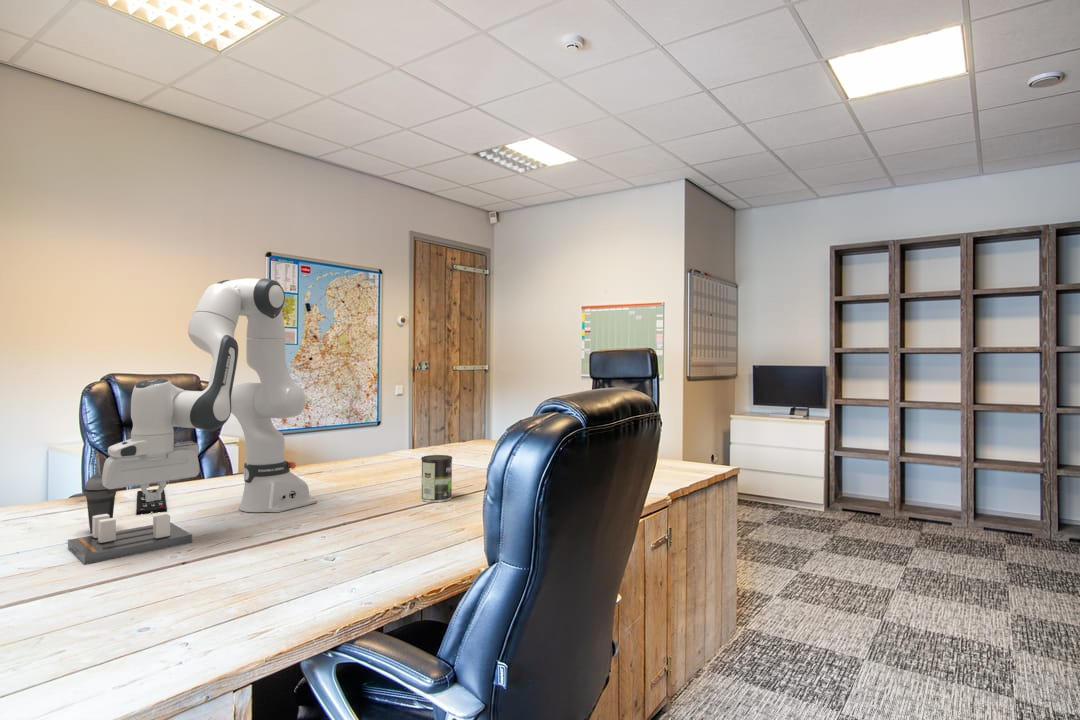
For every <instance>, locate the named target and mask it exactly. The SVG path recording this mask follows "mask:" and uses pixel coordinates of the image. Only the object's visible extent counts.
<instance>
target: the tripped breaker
mask: <svg viewBox="0 0 1080 720" xmlns="http://www.w3.org/2000/svg"><path fill="white" fill-rule="evenodd" d="M152 517H153V518H152V519H153V521H152V525H153V537H155V538H161V537H166V536H170V522H171V515H170V514H169V513H164V514H159V515H154V516H152Z"/></svg>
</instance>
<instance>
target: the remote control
mask: <svg viewBox="0 0 1080 720" xmlns="http://www.w3.org/2000/svg"><path fill="white" fill-rule="evenodd" d="M157 489H158V488H155V489H147V490H148V492H149V493H154V492H156V491H157ZM165 492H166V491H165V489H164V490H163V491H162V493H161V500H157V501H150V502H146V500H145V494H144V492H143V491H142V490H137V495H136V513H135V515H136V516H141V514H143V515H149V513H150V514H158V512H160V513H167V511H168V506H167V500H166V494H165Z"/></svg>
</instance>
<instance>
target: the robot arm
mask: <svg viewBox="0 0 1080 720" xmlns="http://www.w3.org/2000/svg"><path fill="white" fill-rule="evenodd" d="M285 295H286V294H285V290H284V288H283V287H282V285H281V284H280V283H279V281H276V280H275V279H271V278H257V277H256V278H253V277H251V278H250V277H249V278H248V277H246V278H239V279H231V280H230V279H225V280H221V281H218V282H216V283H213V284H211V285H209V286H208V287H207V288H206V289H205V291H204V292H203V294H202V295H201V296H200V298H199V300H198V302H197V303H196V305H195V308H194V311H193V313H192V315H191V318H190V320H189V323H188V327H187V334H188V337H189V340H190V341H191V342H192V344H194V345H195V347H197V348H198V349H201V351H203V352H205V353H208V354H210V355H211V357H212V366H211V370H210V374H209V375H210V376H209V379H208V384H207V387H205V389H203V390H201V391H200V390H187V389H185V390H184V389H183V388H180V387H179V386H178V387H177V386H176V385H174V384H173V383H171V381H170V379H168V378H153V379H151V378H150V379H145V380H142V381H139V382H138V383H135V385H134V387H133V389H132V393H131V399H130V418H131V421H132V429H131V432H130V438H129V439H126V440H124V441H121V442H117V443H115V444H113V445H110V446H108V447H107V453H108V455H109V456H108V458H106V459H105V461H104V463H103V469H102V473H103V474H102V484H103V486H104V487H106V488H107V489H116V488H117V489H121V488H128V487H135V486H139V488H140V491H143V492H144V494H145V500H146V502H150V501H157V500H161V493H162V491H163V490H164V491H165V488H166V487H167V482H169V481H177V480H182V479H183V480H184V479H190V478H196V477H197V476H198V475H199V474H200V471H201V470H200V462H199V457H198V456H199V454H200V446H199V444H198V443H197V442H194V441H193V440H187V441H177V442H175V440H174V439H175V437H174V436H175V434H174V431H175V430H174V428H184V429H185V428H187V429H199V430H204V431H205V430H206V431H210V432H211V431H213V432H214V431H216V430H218V429H220V428H222V427H223V426H224V425H225V424H226V423H227V422H228V420H229V418H230V417H231V414H232V415H233V416H234V417H235V418H236V420H237V422H238V423H239V425H240V426H241V427H240V428H241V429H242V433H243V436H244V441H245V442H244V443H245V445H244V446H245V463H244V465H243V481H244V487H243V494H242V499H241V503H240V505H239V508H238V509H239V511H241V512H248V513H279V512H280V513H281V512H284V511H288V510H292V509H296V508H297V509H298V508H299V507H300V508H301V507H304V506H309V505H312V504H313V505H314V504H317V501H318V499H317V497H315V496H314V495H310V488H309V485H308V483H307V482H306V481H304V480H303V479H302V478H300V477H299V476H297V475H296V474H294V473H293V472H291V469H295V468H296V467H297V464H296V462H294V461H287V460H285V448H286V447H285V437H284V435H283V434H284V433H282V432H280V430H277V428H276V427H275V425H274V424H273V422H272V419H279V420H280V419H288V418H293V417H297V416H300V414H302V412H303V411H304V408H305V407H306V401H307V399H306V398H307V397H306V395H305V392H304V390H303V389H302V388H301V387H300V386H299V385H298V384H296V382H295V381H294V380H293V378H292V377H291V373H290V372H289V369H288V365H287V357H286V328H285V321H284V320H285V319H284V316H283V315H284V314H283V312H282V311H283V310H282V309H283V307H284V305H285V300H286V296H285ZM240 316H241V317H243V316H244V317H246V319H247V324H246V325H247V326H246V341H245V342H246V344H245V345H246V363H247V365H248V367H249V368H251V369H252V370H253V371H255V372H256V374H257V375H258V378H259V380H260V382H244V383H240V384H236V385H234V381H235V376H236V370H237V364H238V360H239V359H238V358H239V344H238V341H237V340H236V339H235V330H236V328H237V324H238V320H239V317H240ZM150 484H157V486H158V487H157V488H156V489H157V491H156V492H154V493H149V492H148V490H149V488H150Z"/></svg>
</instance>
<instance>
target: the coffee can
mask: <svg viewBox="0 0 1080 720" xmlns="http://www.w3.org/2000/svg"><path fill="white" fill-rule="evenodd" d="M420 459H421V495H420V496H421V497H420V500H421V501H422V502H426V503H444V502H448V501H450V500H452V499H453V497H452V495H453V493H452V491H453V490H452V489H453V485H452V482H453V473H452V472H453V470H452V469H453V468H452V467H453V456H452V455H448V454H447V455H446V454H432V455H424V456H422V457H421V458H420Z"/></svg>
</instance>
